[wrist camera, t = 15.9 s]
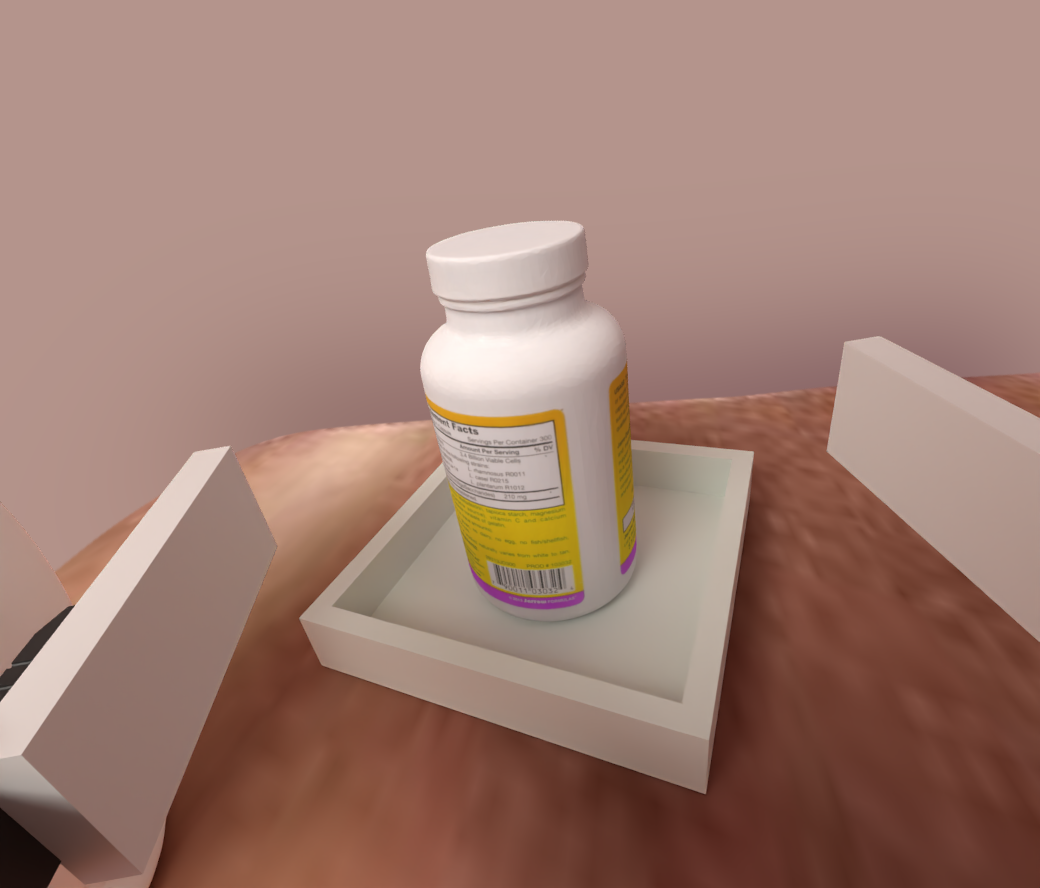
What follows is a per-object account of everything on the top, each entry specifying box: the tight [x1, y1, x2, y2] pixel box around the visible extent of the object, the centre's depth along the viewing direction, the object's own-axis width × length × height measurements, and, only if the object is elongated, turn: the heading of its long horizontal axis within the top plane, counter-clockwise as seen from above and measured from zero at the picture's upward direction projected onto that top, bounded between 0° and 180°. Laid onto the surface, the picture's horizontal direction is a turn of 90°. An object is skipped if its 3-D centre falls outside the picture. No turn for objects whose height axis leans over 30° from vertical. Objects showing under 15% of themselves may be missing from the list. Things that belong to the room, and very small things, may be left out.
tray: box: [299, 440, 754, 794], centre depth 23 cm, size 14×14×2 cm
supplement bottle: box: [420, 221, 637, 621], centre depth 20 cm, size 7×7×13 cm
